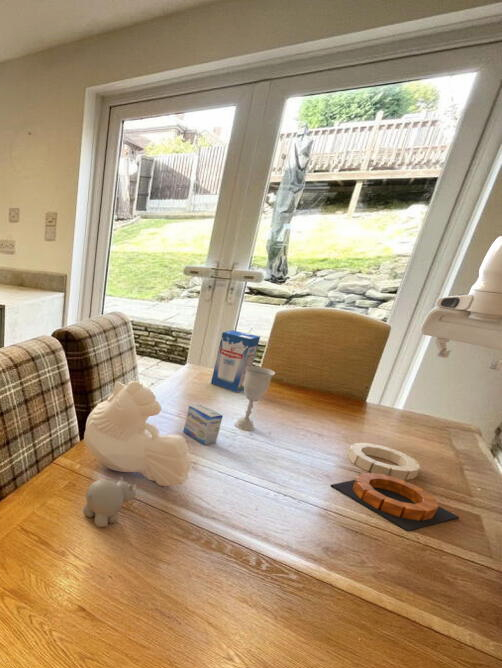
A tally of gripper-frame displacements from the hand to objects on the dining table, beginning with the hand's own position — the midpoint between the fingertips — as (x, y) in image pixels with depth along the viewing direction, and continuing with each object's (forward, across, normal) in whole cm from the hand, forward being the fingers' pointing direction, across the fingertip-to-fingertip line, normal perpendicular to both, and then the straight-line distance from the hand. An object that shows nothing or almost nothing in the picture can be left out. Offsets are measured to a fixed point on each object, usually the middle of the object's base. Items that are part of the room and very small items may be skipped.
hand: (467, 362), depth 93 cm
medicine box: (+26, +24, +49) cm, 61 cm away
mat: (+26, -10, +29) cm, 40 cm away
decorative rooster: (+26, +15, +78) cm, 84 cm away
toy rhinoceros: (+26, +3, +90) cm, 94 cm away
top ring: (+26, -10, +29) cm, 40 cm away
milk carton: (+26, +53, +11) cm, 60 cm away
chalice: (+26, +26, +31) cm, 48 cm away
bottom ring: (+26, +1, +14) cm, 30 cm away
